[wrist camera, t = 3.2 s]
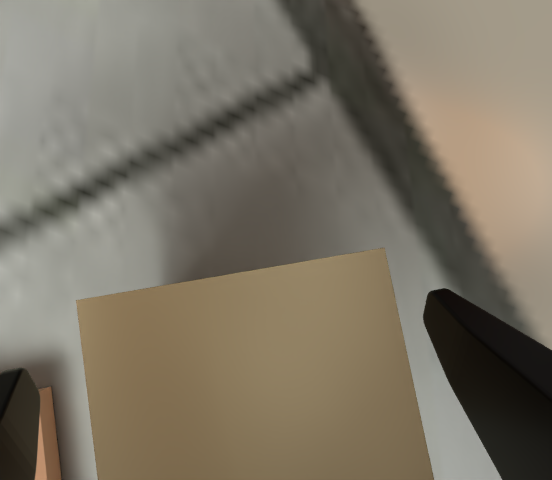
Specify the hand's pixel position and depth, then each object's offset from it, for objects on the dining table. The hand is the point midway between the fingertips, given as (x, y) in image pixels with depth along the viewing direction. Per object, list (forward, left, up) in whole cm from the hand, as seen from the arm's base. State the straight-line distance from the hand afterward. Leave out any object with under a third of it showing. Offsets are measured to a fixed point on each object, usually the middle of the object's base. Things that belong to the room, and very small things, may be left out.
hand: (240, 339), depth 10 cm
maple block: (0, +1, -7) cm, 7 cm away
